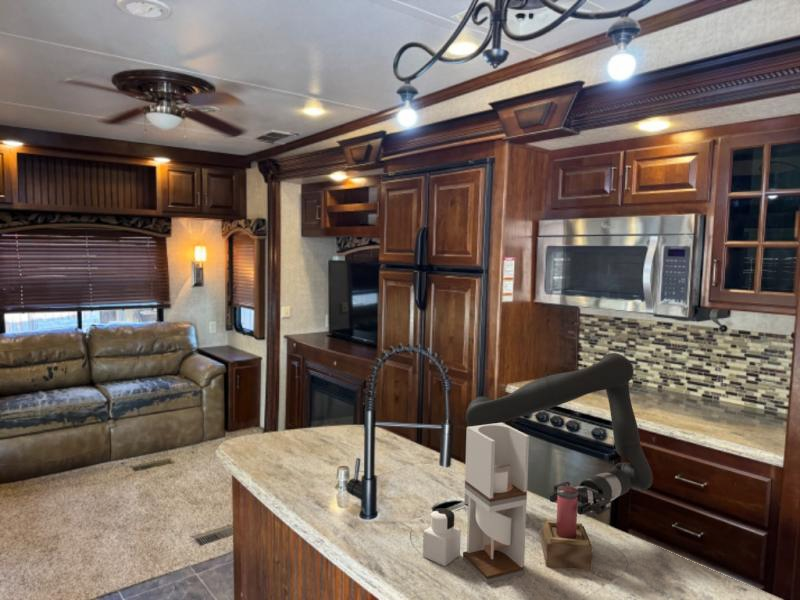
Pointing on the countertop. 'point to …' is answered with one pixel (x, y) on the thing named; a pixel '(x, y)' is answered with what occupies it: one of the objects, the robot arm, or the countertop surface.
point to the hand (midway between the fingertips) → (564, 504)
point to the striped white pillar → (496, 500)
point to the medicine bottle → (442, 538)
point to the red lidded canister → (566, 512)
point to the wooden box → (566, 548)
